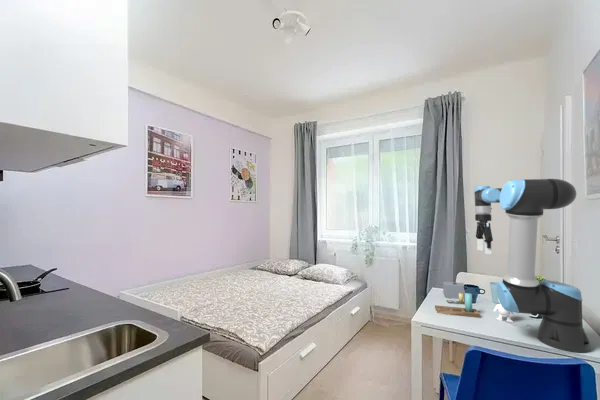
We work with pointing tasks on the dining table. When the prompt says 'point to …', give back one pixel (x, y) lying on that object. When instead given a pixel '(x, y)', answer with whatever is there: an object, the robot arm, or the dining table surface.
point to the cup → (494, 292)
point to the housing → (453, 289)
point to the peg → (468, 302)
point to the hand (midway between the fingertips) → (484, 252)
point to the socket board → (457, 311)
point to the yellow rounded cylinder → (457, 301)
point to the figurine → (502, 312)
